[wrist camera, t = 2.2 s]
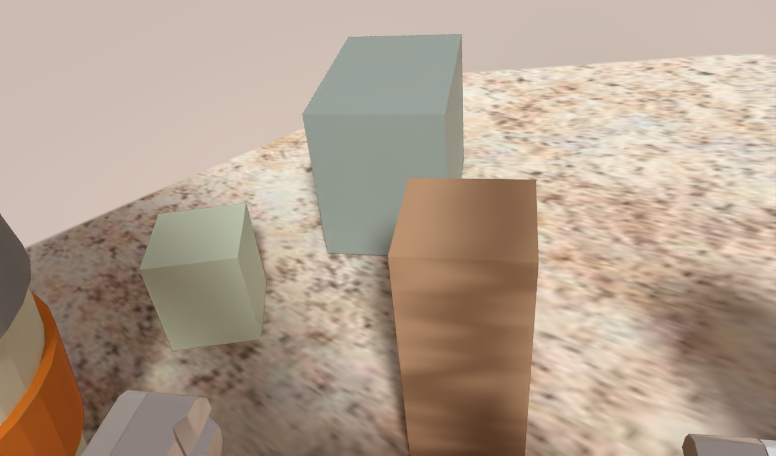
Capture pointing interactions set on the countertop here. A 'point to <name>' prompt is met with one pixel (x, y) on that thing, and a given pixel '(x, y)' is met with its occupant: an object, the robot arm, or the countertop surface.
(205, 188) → the countertop surface
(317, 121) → the base block
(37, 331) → the reusable coffee cup
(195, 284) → the cube
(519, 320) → the pillar
